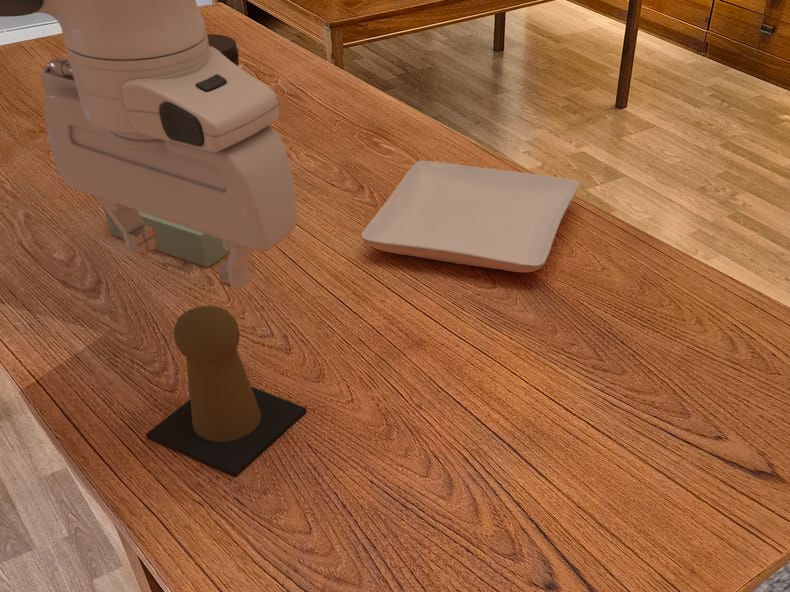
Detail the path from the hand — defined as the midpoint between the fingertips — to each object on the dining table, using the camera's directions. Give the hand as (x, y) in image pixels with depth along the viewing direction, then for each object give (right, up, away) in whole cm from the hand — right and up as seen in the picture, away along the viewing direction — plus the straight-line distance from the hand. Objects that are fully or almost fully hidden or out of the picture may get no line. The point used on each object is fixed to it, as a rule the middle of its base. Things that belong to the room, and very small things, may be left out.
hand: (188, 266), depth 69 cm
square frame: (-11, +14, +37) cm, 41 cm away
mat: (0, -12, +11) cm, 16 cm away
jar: (-14, +32, +56) cm, 66 cm away
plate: (+22, +13, +37) cm, 45 cm away
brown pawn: (0, -11, +11) cm, 16 cm away
